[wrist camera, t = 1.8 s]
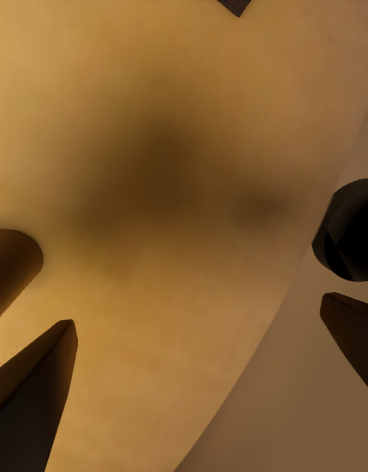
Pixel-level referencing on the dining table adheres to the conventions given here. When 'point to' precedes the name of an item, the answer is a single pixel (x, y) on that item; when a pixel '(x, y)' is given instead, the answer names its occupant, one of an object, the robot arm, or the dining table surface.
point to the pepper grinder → (17, 265)
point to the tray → (236, 5)
